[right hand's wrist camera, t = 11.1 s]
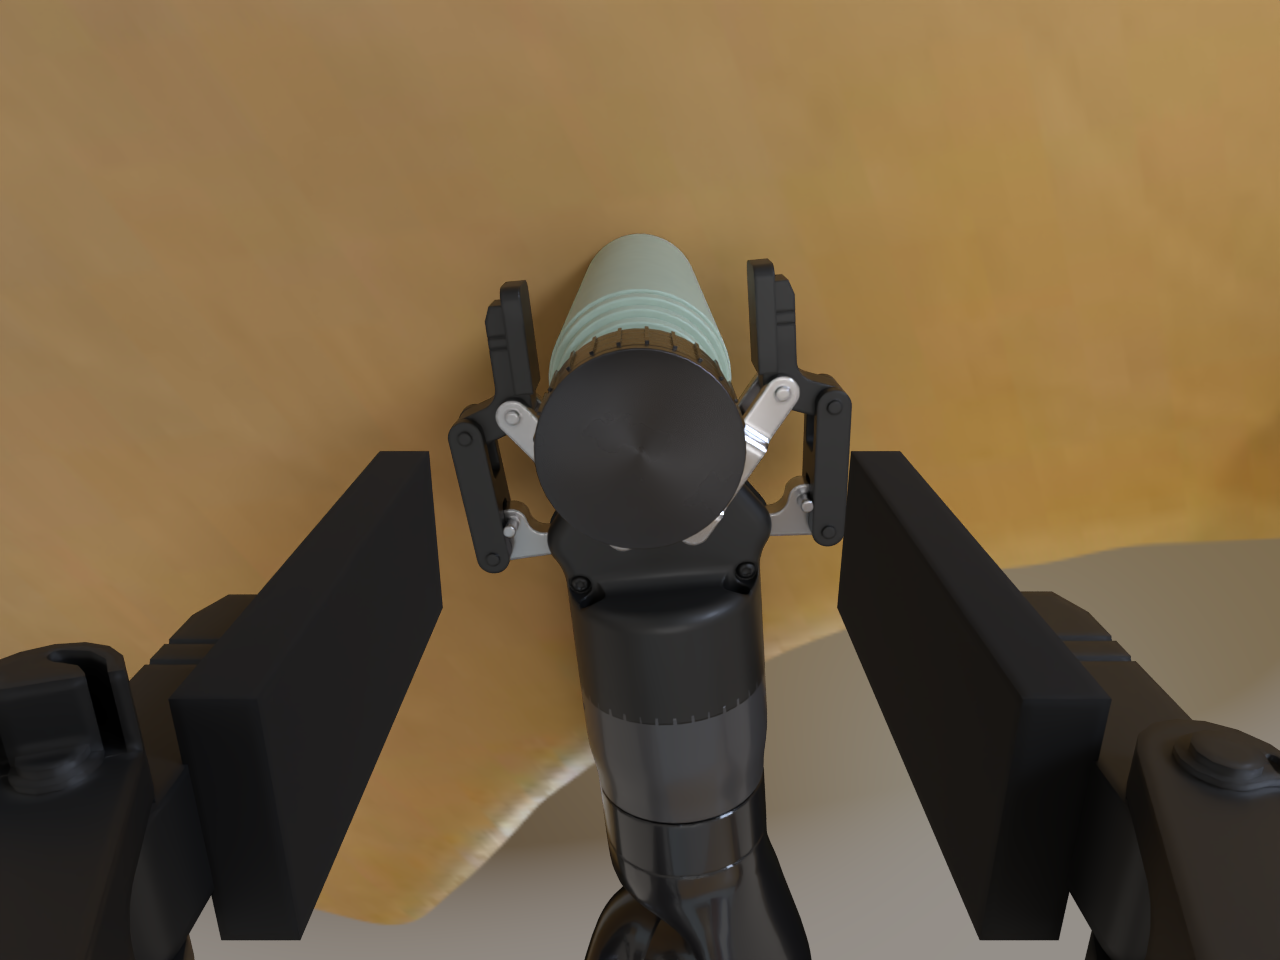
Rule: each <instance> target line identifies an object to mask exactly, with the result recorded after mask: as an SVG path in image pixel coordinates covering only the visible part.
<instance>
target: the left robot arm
mask: <svg viewBox="0 0 1280 960" xmlns="http://www.w3.org/2000/svg"><path fill="white" fill-rule="evenodd" d="M747 281H748V302H749V322H750V343H751V361H752V363H753V365H754V367H755V369H756V371H757V373H756V374H755V376H754V377H753V379H752V380H751V382H750V383H749V385H748V386H747V388H746V389H745V390H744V392H743V393H742V395H741V396H740V398H739V399H738V403H736V405H738V406H739V409H740V411H741V414H742V416H743V419H744V422H745V424H746V428H744V430H745V437H746V451H747V453H746V461H745V466H744V472H743V475H742V478H741V481H740V484H739V486H738V488H737V490H736V492H735V494H734V496H733V498H732V499H731V501H730V502H729V504H728V506H727V507H726V508H725V509H724V511H723V512H722V513H721V514H720V515H719V516H718V517H717V518H716V519H715V520H714V521H713V522H712V523H711V524H710V525H708V526H707V527H706V528H704V529H703V530H701V531H700V532H698V533H697V534H695V535H693V536H691V537H689V538H687V539H686V540H683V541H680V542H678V543H675V544H672V545H668V546H664V547H660V548H651V549H629V548H620V547H616V546H612V545H608V544H605V543H602V542H600V541H597V540H594V539H593V538H591V537H589V536H587V535H585V534H583V533H582V532H580V531H579V530H577V529H576V528H574V527H573V526H572V525H570V524H569V523H568V522H567V521H566V520H565V519H564V518H563V517H562V516H561V515H560V514H559V513H558V512H557V511H555V512H554V514H553V516H552V518H551V521H550V523H547V524H546V523H541V522H538V521H537V520H535V519H534V518H533V517H532V515H531V513H530V511H529V509H528V507H527V506H526V505H525V504H524V503H522V502H520V501H515V500H514V501H511V499H510V495H509V490H508V486H507V481H506V477H505V472H504V468H503V463H502V459H501V454H500V450H499V445H498V441H497V439H499V438H501V437H503V436H505V435H508V436H509V437H510V438H511V439H512V440H513V441H514V442H515V443H516V444H517V445H518V446H519V447H520V448H521V449H522V450H523V451H524V452H525V453H526V454H527V455H528V456H529V457H530V458H531V459H532V460H533V461H534V442H533V436H534V434H535V430H536V426H537V422H538V418H539V416H538V415H537V412H538V409H539V407H540V404H541V402H542V398H541V397H540V396H539V395H538V394H537V393H536V391H535V390H536V388H537V386H538V383H539V381H540V373H539V366H538V358H537V351H536V343H535V336H534V328H533V321H532V314H531V306H530V299H529V292H528V286H527V282H526V280H522V281H511V282H505V283H504V284H503V285H502V287H501V288H500V300H494V301H493V302H492V304H491V305H490V306H489V307H488V311H487V315H486V319H485V325H486V332H487V337H488V345H489V350H490V358H491V364H492V371H493V377H494V384H495V395H494V396H493V397H492V398H490V399H488V400H486V401H484V402H481V403H479V404H472V405H469V406H467V407H466V408H465V409H464V410H463V411H462V413H461V414H460V417H459V419H458V421H457V422H456V423H455V424H454V425H453V426H452V428H451V429H450V431H449V434H448V441H449V445H450V450H451V454H452V458H453V462H454V466H455V470H456V474H457V478H458V483H459V487H460V491H461V495H462V499H463V503H464V507H465V512H466V516H467V520H468V524H469V528H470V532H471V536H472V540H473V545H474V549H475V553H476V557H477V561H478V564H479V566H480V567H481V568H482V569H483V570H485V571H486V572H489V573H499V572H502V571H503V570H505V569H506V568H507V566H508V564H509V561H510V560H513V559H521V558H528V557H535V556H542V555H549V554H552V556H553V557H554V558H555V559H556V560H557V562H558V563H559V564H560V566H561V568H562V569H563V571H564V574H565V577H566V581H567V587H568V595H569V602H570V609H571V617H572V624H573V632H574V639H575V646H576V654H577V661H578V668H579V676H580V683H581V690H582V698H583V705H584V712H585V720H586V727H587V733H588V738H589V743H590V747H591V750H592V754H593V757H594V760H595V763H596V766H597V770H598V773H599V778H600V786H601V794H602V802H603V809H604V817H605V824H606V832H607V839H608V845H609V851H610V856H611V860H612V864H613V867H614V870H615V872H616V874H617V876H618V878H619V880H620V882H621V884H622V885H623V887H622V888H621V889H620V890H619V891H617V892H616V893H615V894H614V895H613V897H612V898H611V899H610V900H609V902H608V903H607V904H606V906H605V908H604V909H603V911H602V913H601V915H600V917H599V919H598V921H597V924H596V927H595V929H594V932H593V934H592V937H591V940H590V944H589V947H588V950H587V953H586V956H585V960H811V954H810V948H809V944H808V940H807V936H806V934H805V931H804V927H803V924H802V921H801V918H800V915H799V913H798V910H797V908H796V905H795V903H794V900H793V898H792V895H791V893H790V890H789V888H788V885H787V883H786V880H785V878H784V875H783V872H782V870H781V867H780V864H779V861H778V858H777V856H776V854H775V851H774V849H773V847H772V845H771V842H770V840H769V837H768V835H767V827H766V802H765V783H764V767H763V762H764V748H765V741H766V730H767V703H766V685H765V662H764V642H763V622H762V602H761V581H760V557H761V553H762V550H763V548H764V545H765V544H766V542H767V540H768V538H769V536H783V535H812V536H813V538H814V540H815V541H816V542H817V543H818V544H820V545H822V546H833V545H835V544H837V543H838V542H840V541H841V540H842V538H843V536H844V526H845V515H846V502H847V483H848V465H849V447H850V429H851V411H852V403H851V400H850V398H849V396H848V395H847V394H846V393H845V391H844V390H843V389H842V388H841V387H840V385H839V384H838V383H837V382H836V381H835V379H834V378H833V377H831V376H830V375H827V374H814V373H810V372H806V371H803V370H801V369H799V368H798V366H797V356H796V325H795V294H794V292H793V289H792V287H791V285H790V283H789V280H788V279H787V278H786V277H784V276H783V275H782V274H779V275H775V273H774V266H773V263H772V262H771V261H770V260H769V259H756V260H748V261H747ZM791 410H794V411H798V412H801V413H804V441H803V469H802V476H797V477H794V478H792V479H790V480H789V481H788V483H787V484H786V486H785V490H784V494H783V496H782V498H781V499H780V500H779V501H777V502H776V503H774V504H770V505H766V503H765V501H764V499H763V498H762V497H761V495H760V494H759V493H758V492H757V491H756V490H755V489H754V488H753V486H752V485H751V484H750V483H749V482H748V481H747V479H748V477H749V476H750V475H751V473H752V472H753V470H754V469H755V468H756V466H757V465H758V463H759V462H760V460H761V459H762V458H763V456H764V454H765V453H766V451H767V448H768V444H769V442H770V440H771V438H772V436H773V435H774V434H775V432H776V431H777V429H778V428H779V427H780V425H781V424H782V422H783V421H784V420H785V418H786V417H787V415H788V414H789V412H790V411H791ZM534 463H535V461H534Z"/></svg>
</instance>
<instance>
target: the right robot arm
mask: <svg viewBox="0 0 1280 960" xmlns="http://www.w3.org/2000/svg"><path fill="white" fill-rule="evenodd" d="M442 608H443V605H442V594H441V583H440V571H439V560H438V549H437V537H436V526H435V515H434V503H433V492H432V481H431V470H430V458H429V451H380V452H379V453H378V454H377V455H376V456H375V458H374V459H373V460H372V461H371V462H370V463H369V465H368V466H367V467H366V468H365V469H364V470H363V472H362V473H361V474H360V475H359V476H358V477H357V479H356V480H355V481H354V482H353V483H352V484H351V486H350V487H349V488H348V489H347V490H346V492H345V493H344V494H343V495H342V496H341V497H340V499H339V500H338V501H337V502H336V503H335V504H334V506H333V507H332V508H331V509H330V510H329V511H328V513H327V514H326V515H325V516H324V517H323V518H322V520H321V521H320V522H319V523H318V524H317V525H316V527H315V528H314V529H313V530H312V531H311V532H310V534H309V535H308V536H307V537H306V538H305V539H304V541H303V542H302V543H301V544H300V545H299V547H298V548H297V549H296V550H295V551H294V552H293V554H292V555H291V556H290V557H289V558H288V559H287V561H286V562H285V563H284V564H283V565H282V566H281V568H280V569H279V570H278V571H277V572H276V573H275V575H274V576H273V577H272V578H271V579H270V580H269V582H268V583H267V584H266V585H265V586H264V587H263V589H262V590H261V591H260V592H259V593H258V594H257V595H227V596H225V597H223V598H222V599H220V600H218V601H216V602H215V603H213V604H211V605H209V606H208V607H206V608H204V609H202V610H201V611H199V612H197V613H195V614H193V615H192V616H191V617H190V618H189V619H188V620H187V621H186V622H185V623H184V624H183V625H182V626H181V628H180V629H179V630H178V631H177V632H176V633H175V634H174V635H173V636H172V637H171V638H170V639H169V644H164V645H163V646H162V647H161V648H160V649H159V651H158V652H157V653H156V654H155V655H154V656H153V657H152V658H151V659H150V664H149V665H144V666H143V667H142V668H141V669H140V670H139V671H138V673H137V674H136V675H135V676H134V677H133V678H132V679H131V680H130V681H129V679H128V675H127V670H126V666H125V662H124V658H123V655H122V654H120V653H119V652H117V651H116V650H114V649H113V648H111V647H110V646H106V645H100V644H93V643H87V642H82V643H67V644H54V645H49V646H45V647H40V648H36V649H32V650H27V651H23V652H19V653H16V654H14V655H11V656H8V657H6V658H3V659H0V960H194V953H193V949H192V945H191V940H190V936H189V933H190V931H191V929H192V928H193V926H194V924H195V922H196V921H197V919H198V917H199V915H200V914H201V912H202V910H203V908H204V907H205V905H206V903H207V901H208V900H209V898H210V896H212V900H213V905H214V909H215V914H216V918H217V923H218V927H219V932H220V936H221V940H301V937H302V935H303V933H304V930H305V928H306V925H307V923H308V921H309V919H310V916H311V914H312V911H313V909H314V907H315V905H316V902H317V900H318V898H319V895H320V893H321V891H322V888H323V886H324V884H325V881H326V879H327V877H328V874H329V872H330V870H331V867H332V865H333V863H334V860H335V858H336V856H337V853H338V851H339V849H340V846H341V844H342V842H343V839H344V837H345V835H346V832H347V830H348V828H349V825H350V823H351V821H352V818H353V816H354V814H355V811H356V809H357V807H358V804H359V802H360V799H361V797H362V795H363V792H364V790H365V788H366V785H367V783H368V781H369V778H370V776H371V774H372V771H373V769H374V767H375V764H376V762H377V760H378V757H379V755H380V753H381V750H382V748H383V746H384V743H385V741H386V739H387V736H388V734H389V732H390V729H391V727H392V725H393V722H394V720H395V718H396V715H397V713H398V711H399V708H400V706H401V704H402V701H403V699H404V697H405V694H406V692H407V690H408V687H409V685H410V683H411V680H412V678H413V676H414V673H415V671H416V669H417V666H418V664H419V662H420V659H421V657H422V655H423V652H424V650H425V648H426V645H427V643H428V641H429V638H430V636H431V634H432V631H433V629H434V627H435V624H436V622H437V620H438V617H439V615H440V613H441V610H442ZM837 608H838V610H839V613H840V615H841V617H842V620H843V622H844V624H845V627H846V629H847V631H848V634H849V636H850V638H851V641H852V643H853V645H854V648H855V650H856V652H857V655H858V657H859V659H860V662H861V664H862V666H863V669H864V671H865V673H866V676H867V678H868V680H869V683H870V685H871V687H872V690H873V692H874V694H875V697H876V699H877V701H878V704H879V706H880V708H881V711H882V713H883V715H884V718H885V720H886V722H887V725H888V727H889V729H890V732H891V734H892V736H893V739H894V741H895V743H896V746H897V748H898V750H899V753H900V755H901V757H902V760H903V762H904V764H905V767H906V769H907V771H908V774H909V776H910V778H911V781H912V783H913V785H914V788H915V790H916V792H917V795H918V797H919V799H920V802H921V804H922V807H923V809H924V811H925V814H926V816H927V818H928V821H929V823H930V825H931V828H932V830H933V832H934V834H935V837H936V839H937V842H938V844H939V846H940V849H941V851H942V853H943V856H944V858H945V860H946V863H947V865H948V867H949V870H950V872H951V874H952V877H953V879H954V881H955V884H956V886H957V888H958V890H959V893H960V895H961V898H962V900H963V902H964V905H965V907H966V909H967V912H968V914H969V916H970V919H971V921H972V923H973V925H974V928H975V930H976V933H977V935H978V937H979V940H1059V936H1060V932H1061V927H1062V923H1063V918H1064V913H1065V909H1066V904H1067V900H1068V896H1069V892H1070V893H1071V895H1072V897H1073V898H1074V900H1075V902H1076V904H1077V905H1078V907H1079V909H1080V911H1081V912H1082V914H1083V916H1084V917H1085V919H1086V921H1087V923H1088V925H1089V926H1090V928H1091V930H1092V932H1091V936H1090V941H1089V945H1088V949H1087V953H1086V957H1085V960H1280V751H1279V750H1278V749H1276V748H1275V747H1273V746H1272V745H1270V744H1268V743H1266V742H1264V741H1262V740H1260V739H1257V738H1255V737H1253V736H1251V735H1248V734H1246V733H1244V732H1242V731H1239V730H1236V729H1233V728H1229V727H1225V726H1221V725H1217V724H1214V723H1210V722H1206V721H1195V720H1192V719H1191V718H1190V717H1189V716H1188V715H1187V714H1186V713H1185V712H1184V711H1183V710H1182V709H1181V708H1180V707H1179V706H1178V705H1177V704H1176V703H1175V702H1174V700H1173V699H1172V698H1171V697H1170V696H1169V695H1168V694H1167V693H1166V692H1165V691H1164V690H1163V689H1162V688H1161V687H1160V686H1159V685H1158V684H1157V683H1156V682H1155V681H1154V680H1153V679H1152V678H1151V677H1150V676H1149V675H1148V674H1147V672H1146V671H1145V670H1144V669H1143V668H1142V667H1141V666H1140V665H1139V664H1138V663H1137V662H1136V661H1131V656H1130V655H1129V654H1128V653H1127V652H1126V651H1125V650H1124V649H1123V648H1122V647H1121V646H1120V644H1119V643H1118V642H1117V641H1112V639H1111V635H1110V634H1109V633H1108V632H1107V631H1106V630H1105V629H1104V628H1103V627H1102V626H1101V625H1100V624H1099V623H1098V622H1097V621H1096V620H1095V619H1094V617H1093V616H1092V615H1091V614H1090V613H1089V612H1087V611H1085V610H1084V609H1082V608H1080V607H1078V606H1077V605H1075V604H1073V603H1071V602H1069V601H1068V600H1066V599H1064V598H1062V597H1061V596H1059V595H1057V594H1055V593H1053V592H1020V591H1019V590H1018V589H1017V587H1016V586H1015V585H1014V584H1013V583H1012V582H1011V580H1010V579H1009V578H1008V577H1007V576H1006V575H1005V573H1004V572H1003V571H1002V570H1001V569H1000V568H999V566H998V565H997V564H996V563H995V562H994V561H993V559H992V558H991V557H990V556H989V555H988V554H987V552H986V551H985V550H984V549H983V548H982V547H981V545H980V544H979V543H978V542H977V541H976V539H975V538H974V537H973V536H972V535H971V534H970V532H969V531H968V530H967V529H966V528H965V527H964V525H963V524H962V523H961V522H960V521H959V520H958V518H957V517H956V516H955V515H954V514H953V513H952V511H951V510H950V509H949V508H948V507H947V506H946V504H945V503H944V502H943V501H942V500H941V499H940V497H939V496H938V495H937V494H936V493H935V492H934V490H933V489H932V488H931V487H930V486H929V484H928V483H927V482H926V481H925V480H924V479H923V477H922V476H921V475H920V474H919V473H918V472H917V470H916V469H915V468H914V467H913V466H912V465H911V463H910V462H909V461H908V460H907V459H906V458H905V456H904V455H903V454H902V453H901V452H900V451H851V458H850V469H849V481H848V492H847V503H846V515H845V526H844V537H843V549H842V560H841V571H840V583H839V594H838V605H837Z"/></svg>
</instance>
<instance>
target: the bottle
mask: <svg viewBox="0 0 1280 960" xmlns="http://www.w3.org/2000/svg"><path fill="white" fill-rule="evenodd" d="M645 326H649V329H656V330H661V331H665V332H669V333H671V331H673V332H675V335H677V336H680V337H682V338H684V339H686V340H688V341H690V342H691V343H693V344H695V342H696V343H697V344H699V348H700V349H701V350H703V351H704V352H705V353H706V354H707V355H708V356H709V357H710V358H711V359H712V360H713V361H714V360H715V359H716V360H717V362H718V364H719V367H720V369H721V371H722V373H723V375H724V376H725V378H726V380H727V382H728V381H730V382H731V367H730V361H729V356H728V352H727V349H726V347H725V344H724V342H723V339H722V337H721V335H720V332H719V330H718V328H717V325H716V323H715V321H714V318H713V316H712V314H711V311H710V309H709V307H708V304H707V302H706V300H705V297H704V295H703V293H702V290H701V288H700V286H699V283H698V281H697V279H696V276H695V274H694V272H693V269H692V267H691V265H690V263H689V261H688V260H687V258H686V257H685V256H684V254H683V253H682V252H681V251H680V250H679V249H678V248H677V247H676V246H674V245H673V244H672V243H670V242H668V241H667V240H665V239H662V238H660V237H657V236H654V235H648V234H632V235H626V236H623V237H620V238H618V239H615V240H613V241H612V242H610V243H608V244H607V245H606V246H604V247H603V248H602V249H601V250H600V251H599V252H598V253H597V254H596V256H595V257H594V258H593V260H592V261H591V263H590V265H589V267H588V269H587V272H586V274H585V276H584V279H583V281H582V283H581V286H580V288H579V290H578V293H577V295H576V297H575V300H574V302H573V304H572V307H571V309H570V311H569V313H568V316H567V318H566V320H565V323H564V325H563V327H562V330H561V332H560V334H559V337H558V339H557V342H556V344H555V347H554V349H553V352H552V356H551V361H550V367H549V386H550V383H551V380H552V378H553V375H554V372H555V371H556V370H558V371H559V370H560V368H561V367H562V366H563V364H564V363H565V362H566V361H567V360H568V359H569V357H570V354H571V352H572V351H573V350H574V351H575V352H576V351H577V350H579V349H580V348H581V347H582V346H584V345H585V344H587V343H589V342H590V341H592V338H593V337H595V336H596V337H597V338H598V337H600V336H603V335H605V334H607V333H611V332H615V331H618V328H622V330H624V329H632V328H645Z"/></svg>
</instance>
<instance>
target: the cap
mask: <svg viewBox="0 0 1280 960" xmlns="http://www.w3.org/2000/svg"><path fill="white" fill-rule="evenodd" d="M548 391H549V392H548V393H545V394H544V397H543V399H542V402H541V404H540V407H539V409H538V412H537V415H538V416H539V418H538V422H537V426H536V430H535V434H534V436H533V442H534V461H535V466H536V472H537V475H538V478H539V481H540V484H541V486H542V488H543V490H544V492H545V494H546V497H547V498H548V500H549V501H550V503H551V504H552V506H553V507H554V508H555V509H556V511H557V512H558V513H559V514H560V515H561V516H562V517H563V518H564V519H565V520H566V521H567V522H568V523H569V524H570V525H572V526H573V527H574V528H576V529H577V530H579V531H580V532H582V533H583V534H585V535H587V536H589V537H591V538H593V539H594V540H597V541H600V542H602V543H605V544H608V545H612V546H616V547H620V548H629V549H651V548H660V547H664V546H668V545H672V544H675V543H678V542H680V541H683V540H686V539H687V538H689V537H691V536H693V535H695V534H697V533H698V532H700V531H701V530H703V529H704V528H706V527H707V526H708V525H710V524H711V523H712V522H713V521H714V520H715V519H716V518H717V517H718V516H719V515H720V514H721V513H722V512H723V511H724V509H725V508H726V507H727V506H728V504H729V502H730V501H731V499H732V498H733V496H734V494H735V492H736V490H737V488H738V486H739V484H740V481H741V478H742V475H743V472H744V466H745V461H746V453H747V451H746V437H745V430H744V428H746V424H745V422H744V419H743V416H742V414H741V411H740V409H739V406H738V405H736V403H738V399H737V397H736V394H735V392H734V389H733V386H732V384H731V382H730V381H728V382H727V380H726V378H725V376H724V375H723V373H722V371H721V369H720V367H719V364H718V362H717V360H716V359H715V360H714V361H713V360H712V359H711V358H710V357H709V356H708V355H707V354H706V353H705V352H704V351H703V350H701V349H700V348H699V344H697V343H696V342H695V344H693V343H691V342H690V341H688V340H686V339H684V338H682V337H680V336H677V335H675V332H673V331H671V333H669V332H665V331H661V330H656V329H649V326H645V328H632V329H624V330H622V328H618V331H615V332H611V333H607V334H605V335H603V336H600V337H598V338H597V337H596V336H595V337H593V338H592V341H590V342H589V343H587V344H585V345H584V346H582V347H581V348H580V349H579V350H577V351H576V352H575V351H574V350H573V351H572V352H571V354H570V357H569V359H568V360H567V361H566V362H565V363H564V364H563V366H562V367H561V368H560V370H559V371H558V370H556V371H555V372H554V375H553V378H552V380H551V383H550V386H549V388H548Z"/></svg>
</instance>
